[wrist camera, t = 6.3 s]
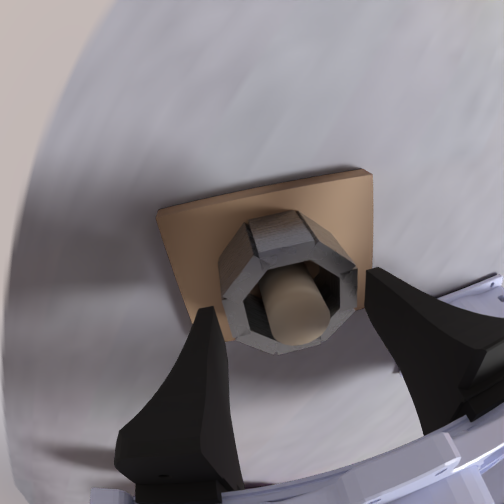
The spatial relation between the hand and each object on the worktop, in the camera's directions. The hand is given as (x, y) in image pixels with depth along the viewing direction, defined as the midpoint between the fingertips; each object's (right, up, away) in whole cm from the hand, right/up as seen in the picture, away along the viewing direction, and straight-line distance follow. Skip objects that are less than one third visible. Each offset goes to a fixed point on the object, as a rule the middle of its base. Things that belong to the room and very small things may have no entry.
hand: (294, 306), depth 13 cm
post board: (-1, +2, +3) cm, 4 cm away
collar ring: (0, +2, +2) cm, 3 cm away
